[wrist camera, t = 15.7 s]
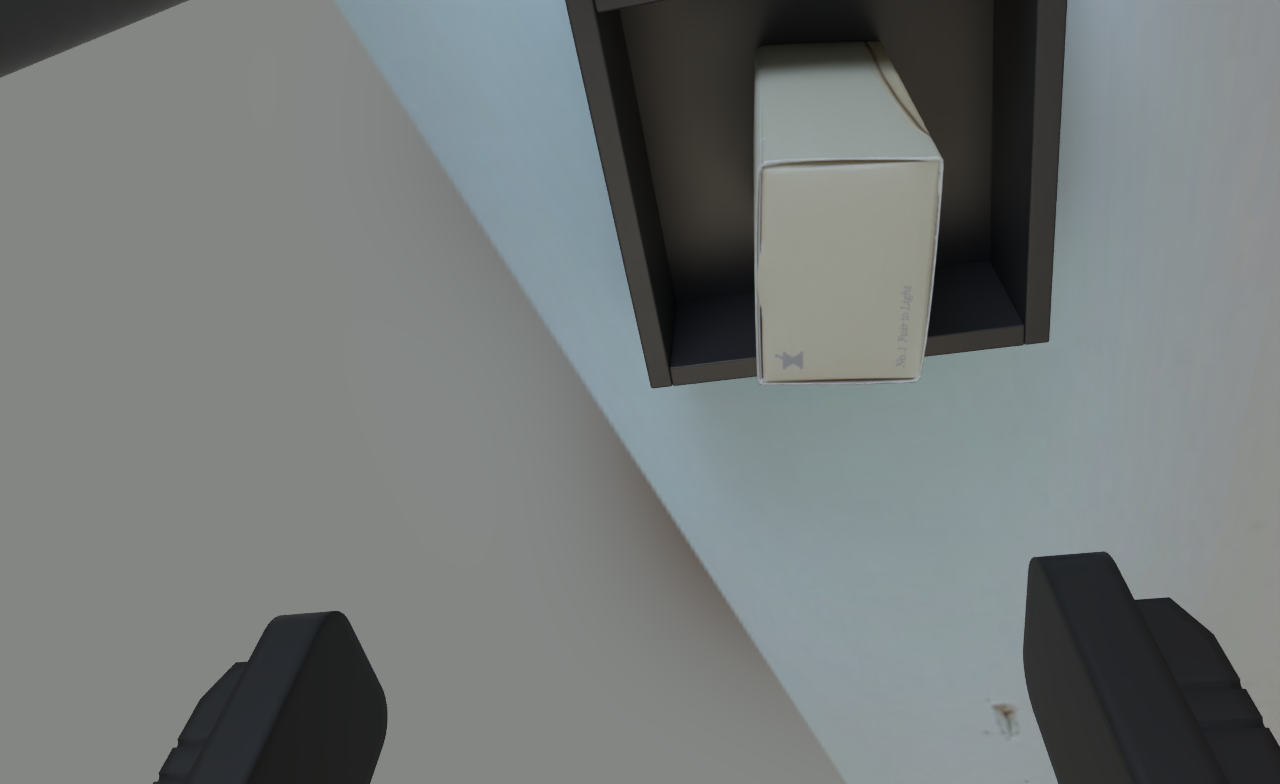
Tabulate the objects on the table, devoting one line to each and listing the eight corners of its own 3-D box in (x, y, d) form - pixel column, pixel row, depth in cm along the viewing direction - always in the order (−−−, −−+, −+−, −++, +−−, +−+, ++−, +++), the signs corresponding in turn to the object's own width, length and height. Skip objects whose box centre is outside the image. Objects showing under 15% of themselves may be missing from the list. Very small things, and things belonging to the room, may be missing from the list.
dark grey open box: (660, 314, 38) (651, 389, 33) (587, -43, 31) (562, -10, 26) (1007, 268, 35) (1049, 342, 31) (1017, -129, 28) (1074, -111, 24)
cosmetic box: (869, 210, 34) (927, 392, 24) (748, 214, 34) (754, 394, 24) (882, 31, 31) (956, 156, 20) (747, 38, 31) (754, 163, 21)
